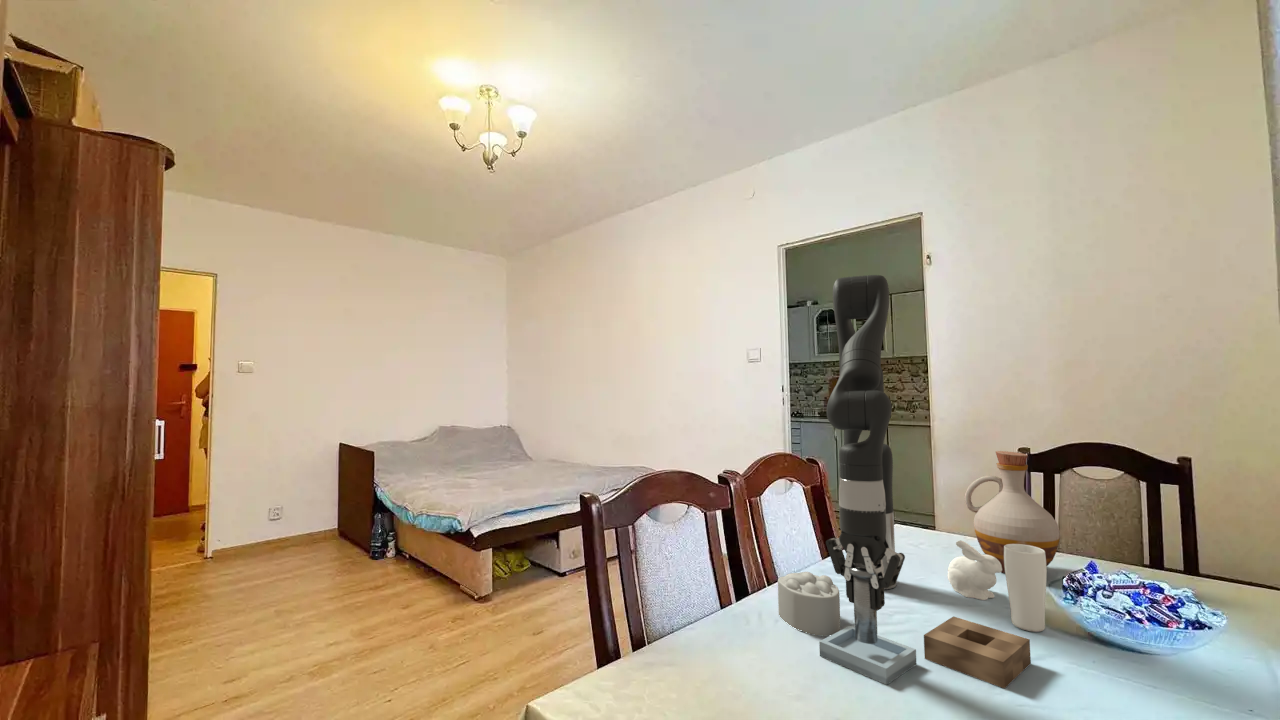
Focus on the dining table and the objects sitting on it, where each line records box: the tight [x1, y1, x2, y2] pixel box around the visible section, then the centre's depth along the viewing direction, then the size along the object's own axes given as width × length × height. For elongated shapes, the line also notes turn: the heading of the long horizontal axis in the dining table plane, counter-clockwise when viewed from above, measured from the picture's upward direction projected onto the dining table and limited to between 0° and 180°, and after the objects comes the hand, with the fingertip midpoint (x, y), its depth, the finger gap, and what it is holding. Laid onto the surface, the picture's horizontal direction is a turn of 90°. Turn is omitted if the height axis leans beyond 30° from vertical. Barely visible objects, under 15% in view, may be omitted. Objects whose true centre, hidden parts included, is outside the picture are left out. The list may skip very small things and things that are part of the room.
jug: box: [964, 450, 1061, 575], centre depth 136 cm, size 20×18×30 cm
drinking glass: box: [1004, 544, 1048, 633], centre depth 105 cm, size 7×7×15 cm
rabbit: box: [947, 540, 1002, 601], centre depth 122 cm, size 12×9×12 cm
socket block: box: [923, 616, 1032, 689], centre depth 92 cm, size 12×12×4 cm
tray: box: [818, 625, 917, 686], centre depth 92 cm, size 12×10×2 cm
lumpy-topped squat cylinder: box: [777, 571, 841, 637], centre depth 108 cm, size 10×13×9 cm
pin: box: [849, 564, 879, 644], centre depth 93 cm, size 5×5×12 cm
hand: (865, 604), depth 93 cm, fingers closed on pin, 3 cm apart
